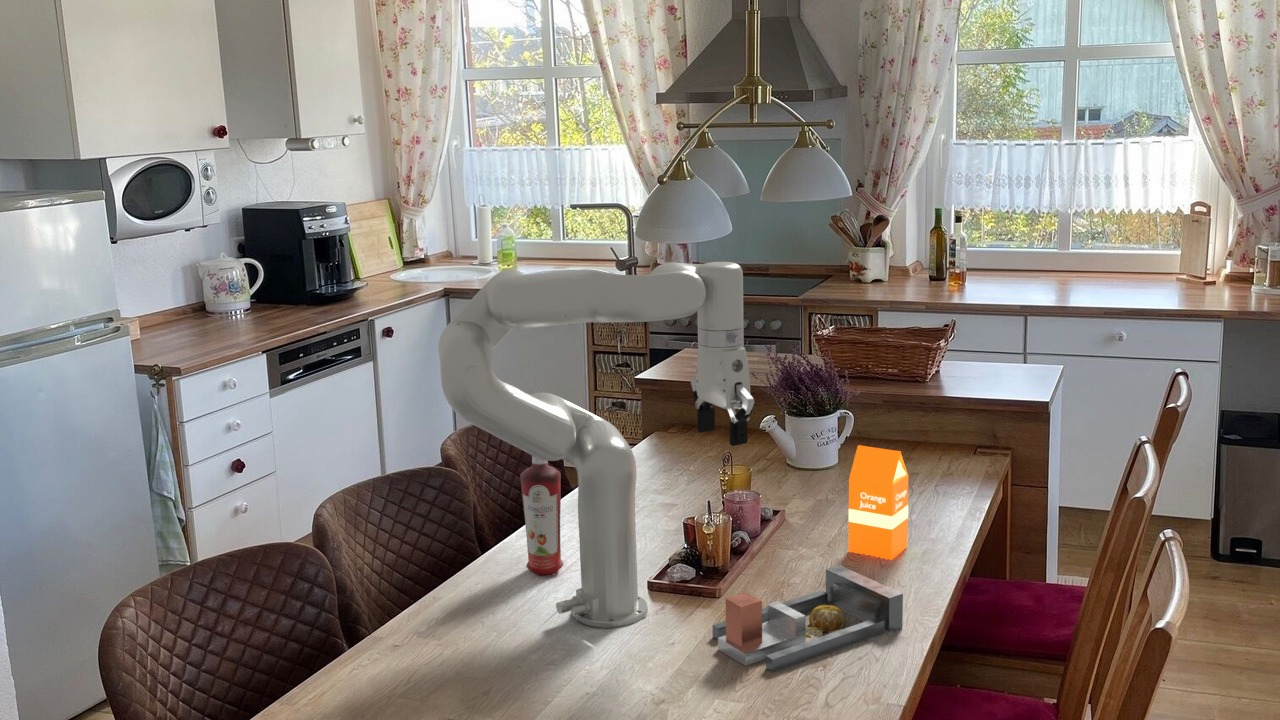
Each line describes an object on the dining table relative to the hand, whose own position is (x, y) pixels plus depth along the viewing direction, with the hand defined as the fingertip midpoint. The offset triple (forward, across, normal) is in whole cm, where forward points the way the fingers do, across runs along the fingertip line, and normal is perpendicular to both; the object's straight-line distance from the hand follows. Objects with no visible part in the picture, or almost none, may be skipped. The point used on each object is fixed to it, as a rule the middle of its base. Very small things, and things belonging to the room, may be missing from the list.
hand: (722, 437), depth 207 cm
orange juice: (+29, +4, -37) cm, 48 cm away
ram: (+29, -19, +6) cm, 35 cm away
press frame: (+29, -18, -4) cm, 35 cm away
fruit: (+30, -19, -7) cm, 36 cm away
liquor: (+30, +29, +20) cm, 46 cm away
